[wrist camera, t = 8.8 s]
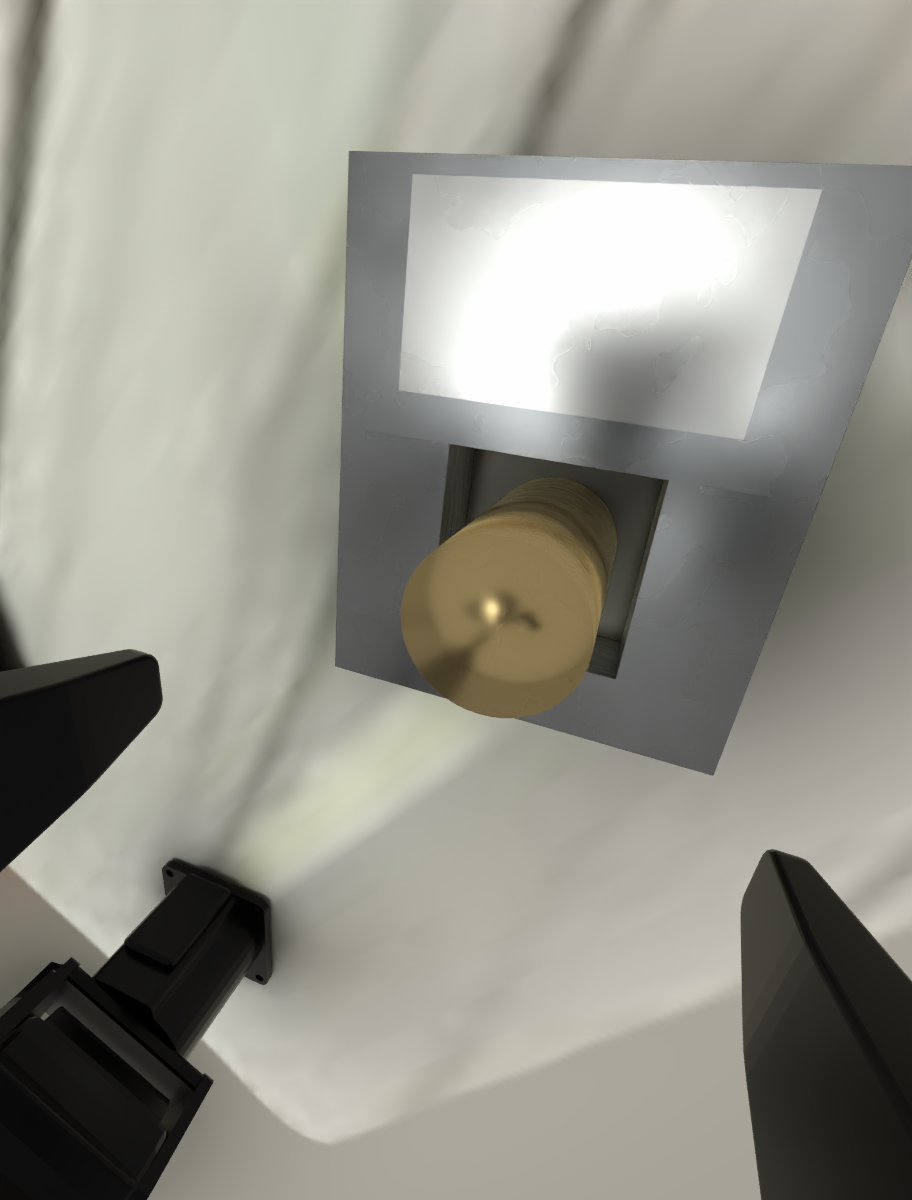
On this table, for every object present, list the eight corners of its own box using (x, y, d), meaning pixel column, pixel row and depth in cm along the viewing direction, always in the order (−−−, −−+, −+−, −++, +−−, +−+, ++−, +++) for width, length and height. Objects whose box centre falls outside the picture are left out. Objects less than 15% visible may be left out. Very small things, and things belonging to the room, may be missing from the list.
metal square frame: (706, 726, 18) (715, 794, 15) (369, 635, 21) (322, 677, 18) (894, 205, 12) (968, 150, 9) (394, 184, 15) (331, 138, 12)
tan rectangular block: (600, 614, 18) (571, 740, 11) (481, 586, 19) (394, 688, 12) (631, 489, 16) (614, 559, 10) (498, 466, 17) (408, 517, 11)
